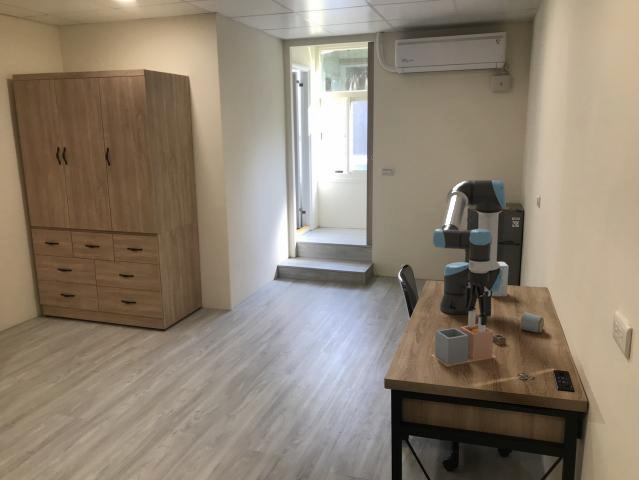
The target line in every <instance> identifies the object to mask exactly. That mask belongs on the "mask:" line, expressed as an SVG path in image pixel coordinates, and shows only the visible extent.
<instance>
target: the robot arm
mask: <svg viewBox="0 0 639 480" xmlns="http://www.w3.org/2000/svg"><path fill="white" fill-rule="evenodd" d="M506 198H507V197H506V187H505V183H504V181H502V180H494V179H492V180H491V179H486V180H479V179H478V180H476V179H475V180H473V179H469V180H468V179H467V180H464V181H463V180H462V181H461V182H458V183H457V184H456V185H454V186H453V187H452V188H451V189H450V190H449V192H448V193H447V195H446V200H445V203H446V207H445V208H446V209H445V212H444V216H443V220H442V223H441V227H440V228H436V229H434V231H433V235H432V236H433V237H432V241H433V242H432V244H433V247H435V248H440V249H454V250H455V249H456V250H458V249H459V250H469V255H468V256H469V257H468V262H465V261H457V262H451V263H448V264H446V266H445V267H444V273H443V275H444V276H443V277H444V279H443V295H442V297H441V300H440V302H439V310H440V311H441V312H443V313H446V314H451V315H466V314H467V317H468V319H467V320H468V321H467V326H468V327H469V328H471V327H475V325H476V316H477V315H476V314H477V308H476V304H477V301H478V307H479V314H480V315H478V323H477V324H478V333H481V332H485V330H486V328H487V326H486V325H487V318H488V317H491V316H492V297H493V296H492V292H498V291H499V289H500V284H501V279H502V273H503V269H502V268H500V264H499V263H498V262H499V261H497V260H498V258H497V257H498V238H499V237H498V236H499V233H498V232H499V214H500V213H502V211H503V208H506V206H507V202H506V201H507V200H506ZM467 207H475V212H477V214H478V224H477V225H478V226H477V227H478V228H475V229H469V230H468V229H461V228H462V223H463V219H464V218H463V217H464V213H465V209H466V208H467Z"/></svg>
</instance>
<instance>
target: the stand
mask: <svg viewBox="0 0 639 480" xmlns="http://www.w3.org/2000/svg"><path fill="white" fill-rule="evenodd" d="M506 341H507V337H506V336H504V335H502V334H499V333H498V334H493V343H494V344H496V345H498V346H499V345H504V344H506Z"/></svg>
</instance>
